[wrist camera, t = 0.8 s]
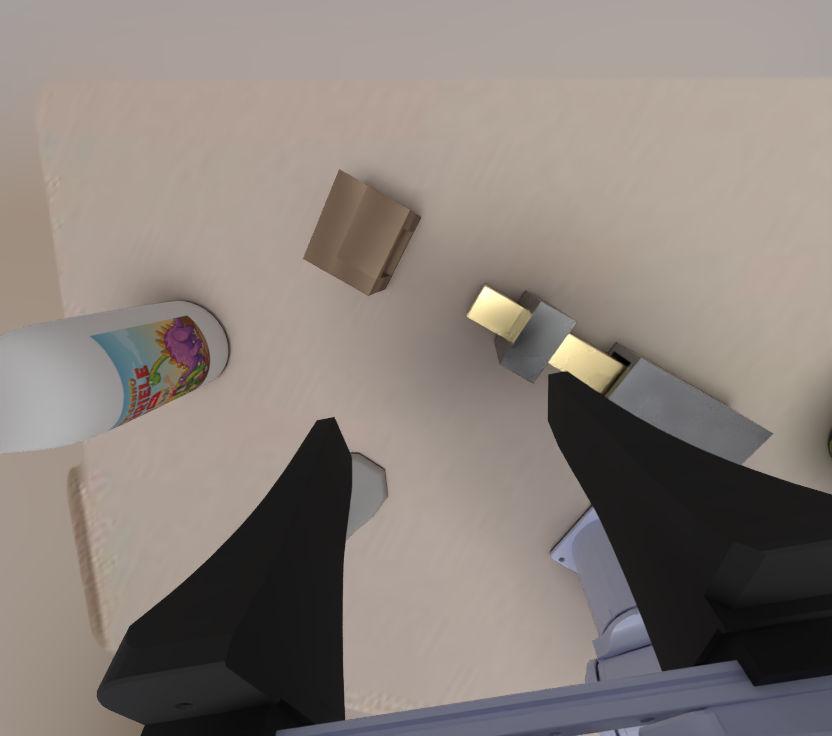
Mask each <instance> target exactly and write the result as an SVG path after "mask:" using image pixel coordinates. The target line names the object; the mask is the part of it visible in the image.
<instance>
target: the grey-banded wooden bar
mask: <svg viewBox="0 0 832 736" xmlns="http://www.w3.org/2000/svg"><path fill="white" fill-rule="evenodd" d="M467 317H468V318H470V319H472V320H473V321H475V322H477V323H479V324H480V325H482V326H484V327H486V328H487V329H489V330H491V331H493V332H494V333H496V334H498V335H497V336H496V338H495V340H494V342H495V346H496V351H497V355H498V359H499V364H500V365H502V366H504V367H505V368H507V369H509V370H511V371H512V372H514V373H516V374H518V375H519V376H521V377H523V378H525V379H526V380H528V381H530V382H532V383H534V382H535V380H536V379H537V378H538V376H539V375H540V373H541V372H542V371H543V369H544V368H545V366H546V365H547V364H548V363H549V364H551V365H552V366H554V367H556V368H558V369H559V370H561V371H563V372H565V371H568V372H570V373H571V374H572V375H574V376H575V377H577V378H578V379H580V380H581V381H583V382H584V383H586V384H587V385H588V386H590V387H591V388H593V389H594V390H596V391H598V392H600V393H601V394H603V395H606V394H607V393H608V391H609V390H610V389H611V388H612V386H613V385H614V384H615V383H616V381H617V380H618V379H619V378H620V376H621V375H622V374H623V373H624V371H625V370H626V369H627V368H628V365H626V364H624V363H622V362H621V361H619V360H617V359H615V358H614V357H612V356H610V355H608V354H607V353H605V352H603V351H602V350H600V349H598V348H596V347H595V346H593V345H591V344H589V343H588V342H586V341H584V340H582V339H581V338H579V337H577V336H575V335H574V334H572V333H570V331H571V330H572V329H573V327H574V326H575V324H576V323H577V322H576V321H575V320H573V319H572V318H570V317H569V316H567V315H566V314H564V313H563V312H561V311H560V310H558V309H557V308H555V307H554V306H552V305H550V304H548V303H547V302H545V301H543V300H541V299H540V298H538V297H536V296H534V295H533V294H531V293H529V292H527V291H525V293H524V294H523V296H522V297H521V299H520V300H519V302H516V301H514V300H512V299H511V298H509V297H507V296H505V295H504V294H502V293H500V292H498V291H497V290H495V289H493V288H491V287H490V286H488V285H486V284H484V285H483V286H482V288H481V290H480V291H479V293H478V295H477V296H476V298H475V300H474V301H473V303H472V305H471V306H470V308H469V310H468V312H467Z"/></svg>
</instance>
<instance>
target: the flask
mask: <svg viewBox="0 0 832 736" xmlns="http://www.w3.org/2000/svg"><path fill="white" fill-rule="evenodd" d="M351 456H352V494H351V502H350V511H349V519H348V527H347V535H346V540H347V539H348V538H349V537H350V536H351V535H352V534H353V533H354V532H355V531H357V530H358V529H359V528H360V527H361V526H363V525H364V524H365V523H366V522H367V521H369V520H370V519H371V518H372V517H373V516H374V514H375V513H376V512H377V510H378V509H379V508H380V506H381V505H382V504H383V502H384V501H385V500H386V498H387V497H388V495H387V486H386V478H385V470H383V469H382V468H380V467H379V466H377V465H375V464H374V463H372V462H371V461H369V460H368V459H366V458H364V457H363V456H361V455H360V454H351Z"/></svg>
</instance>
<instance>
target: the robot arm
mask: <svg viewBox="0 0 832 736" xmlns="http://www.w3.org/2000/svg"><path fill="white" fill-rule="evenodd" d="M548 422H549V424H550V427H551V429H552V432H553V434H554V437H555V439H556V441H557V444H558V446H559V448H560V450H561V452H562V453H563V455H564V457H565V459H566V461H567V462H568V464H569V466H570V468H571V469H572V471H573V473H574V474H575V476H576V478H577V480H578V481H579V483H580V485H581V487H582V488H583V490H584V492H585V494H586V495H587V497H588V499H589V500H590V502H591V504H592V507H591V508H590V509H589V510H588V511H587V512H586V514H585V515H584V516H583V517H582V518H581V519H580V520H579V521H578V523H577V524H576V525H575V526H574V527H573V528H572V529H571V530H570V531H569V533H568V534H567V535H566V536H565V537H564V538H563V539H562V540H561V541H560V543H559V544H558V545H557V546H556V547H555V548H554V549H553V550H552V551H551V558H552V559H553V560H554V561H556V562H558V563H559V564H561V565H563V566H565V567H567V568H568V569H570V570H572V571H574V572H576V573H577V574H579V577H580V580H581V583H582V586H583V589H584V592H585V596H586V599H587V602H588V605H589V608H590V611H591V614H592V617H593V620H594V623H595V626H596V629H597V632H598V635H599V638H597V639H594V640H593V644H594V648H595V651H596V654H597V658H598V659H594V660H590V661H589V662H588V663H587V671H586V675H585V683H584V684H578V685H571V686H565V687H558V688H552V689H545V690H539V691H532V692H526V693H519V694H513V695H506V696H500V697H493V698H487V699H480V700H474V701H467V702H461V703H454V704H448V705H441V706H435V707H428V708H421V709H415V710H408V711H402V712H395V713H389V714H382V715H376V716H370V717H363V718H356V719H350V720H345V706H344V678H343V564H344V551H345V543H346V535H347V527H348V519H349V511H350V502H351V494H352V456H351V454H350V452H349V449H348V447H347V445H346V443H345V440H344V438H343V436H342V433H341V431H340V429H339V426H338V424H337V422H336V420H335V417H332V418H327V419H322V420H317V421H316V423H315V424H314V426H313V427H312V429H311V430H310V432H309V433H308V435H307V437H306V438H305V440H304V441H303V443H302V444H301V446H300V448H299V449H298V451H297V452H296V454H295V455H294V457H293V458H292V460H291V461H290V463H289V464H288V466H287V467H286V469H285V470H284V472H283V473H282V475H281V476H280V477H279V479H278V480H277V482H276V483H275V484H274V486H273V487H272V488H271V490H270V491H269V492H268V494H267V495H266V496H265V498H264V499H263V500H262V502H261V503H260V504H259V505H258V506H257V508H256V509H255V510H254V511H253V512H252V514H251V515H250V516H249V517H248V518H247V519H246V520H245V522H244V523H243V524H242V525H241V526H240V527H239V528H238V529H237V530H236V531H235V532H234V533H233V535H232V536H231V537H230V538H229V539H228V540H227V541H226V542H225V543H224V544H223V545H222V546H221V547H220V548H219V549H218V550H217V551H216V552H215V553H214V554H213V555H212V556H211V557H210V558H209V559H208V560H207V561H206V562H205V563H204V564H203V565H201V566H200V567H199V568H198V569H197V570H196V571H195V572H194V573H193V574H192V575H191V576H189V577H188V578H187V579H186V580H185V581H184V582H183V583H182V584H180V585H179V586H178V587H177V588H176V589H175V590H174V591H172V592H171V593H170V594H169V595H168V596H166V597H165V598H164V599H163V600H161V601H160V602H159V603H158V604H156V605H155V606H154V607H153V608H152V609H150V610H149V611H148V612H147V613H145V614H144V615H143V616H142V617H140V618H139V619H138V620H137V621H135V622H134V623H133V624H132V625H130V627H129V628H128V630H127V632H126V634H125V636H124V638H123V640H122V642H121V644H120V646H119V648H118V650H117V652H116V654H115V656H114V658H113V660H112V662H111V664H110V666H109V668H108V670H107V672H106V674H105V676H104V678H103V680H102V682H101V684H100V686H99V688H98V690H97V698H98V701H99V702H100V703H101V705H102V706H104V707H105V708H107V709H109V710H111V711H113V712H115V713H118V714H120V715H123V716H125V717H127V718H129V719H132V720H134V721H136V722H139V723H141V724H143V725H145V726H144V729H143V731H142V734H141V736H576V735H583V734H590V733H597V732H599V734H600V736H832V495H831V494H828V493H825V492H821V491H818V490H814V489H811V488H807V487H804V486H801V485H797V484H794V483H791V482H788V481H785V480H782V479H779V478H776V477H773V476H770V475H767V474H764V473H761V472H758V471H755V470H753V469H750V468H747V467H745V466H742V465H739V464H737V463H734V462H731V461H729V460H726V459H724V458H722V457H719V456H717V455H714V454H712V453H709V452H707V451H705V450H702V449H700V448H698V447H696V446H693V445H691V444H689V443H687V442H685V441H683V440H681V439H679V438H676V437H674V436H672V435H670V434H668V433H666V432H664V431H662V430H660V429H658V428H657V427H655V426H653V425H651V424H649V423H648V422H646V421H644V420H642V419H640V418H639V417H637V416H635V415H633V414H632V413H630V412H628V411H627V410H625V409H623V408H622V407H620V406H619V405H617V404H616V403H614V402H612V401H611V400H609V399H608V398H606V397H605V396H603V395H602V394H600V393H599V392H597V391H596V390H594V389H593V388H591V387H590V386H588V385H587V384H586V383H584V382H583V381H581V380H580V379H578V378H577V377H575V376H574V375H572V374H571V373H570V372H568V371H565V372H560V373H554V374H549V375H548ZM561 557H562V559H560V558H561Z"/></svg>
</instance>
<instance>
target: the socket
mask: <svg viewBox="0 0 832 736" xmlns="http://www.w3.org/2000/svg"><path fill="white" fill-rule="evenodd" d="M420 218H421V217H420V216H418V215H417V214H415V213H414V212H412V211H411V210H409V209H408V208H406V207H404V206H402V205H401V204H399V203H397V202H395V201H394V200H392V199H390V198H388V197H387V196H385V195H383V194H381V193H380V192H378V191H376V190H374V189H373V188H371V187H369V186H367V185H366V184H364V183H362V182H361V181H359V180H357V179H355V178H354V177H352V176H350V175H348V174H347V173H345V172H343V171H341V170H340V169H339V171H338V174H337V176H336V179H335V181H334V184H333V186H332V189H331V191H330V193H329V196H328V198H327V201H326V203H325V206H324V208H323V211H322V213H321V216H320V218H319V221H318V223H317V226H316V228H315V231H314V233H313V236H312V238H311V240H310V243H309V245H308V248H307V250H306V253H305V255H304V258H303V259H305V260H306V261H308V262H310V263H312V264H313V265H315V266H317V267H319V268H320V269H322V270H324V271H326V272H327V273H329V274H331V275H333V276H334V277H336V278H338V279H340V280H341V281H343V282H345V283H347V284H349V285H350V286H352V287H354V288H356V289H357V290H359V291H361V292H363V293H364V294H366V295H368V296H369V295H372V294H374V293H377V292H379V291H382V290H384V289H386V287H387V285H388V283H389V281H390V279H391V277H392V275H393V273H394V271H395V269H396V267H397V265H398V263H399V261H400V259H401V257H402V255H403V253H404V251H405V249H406V247H407V244H408V242H409V240H410V238H411V236H412V234H413V232H414V230H415V228H416V226H417V224H418V222H419V220H420Z"/></svg>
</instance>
